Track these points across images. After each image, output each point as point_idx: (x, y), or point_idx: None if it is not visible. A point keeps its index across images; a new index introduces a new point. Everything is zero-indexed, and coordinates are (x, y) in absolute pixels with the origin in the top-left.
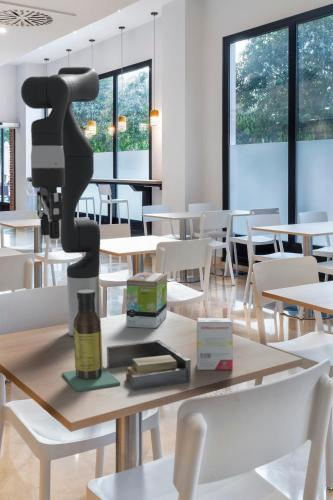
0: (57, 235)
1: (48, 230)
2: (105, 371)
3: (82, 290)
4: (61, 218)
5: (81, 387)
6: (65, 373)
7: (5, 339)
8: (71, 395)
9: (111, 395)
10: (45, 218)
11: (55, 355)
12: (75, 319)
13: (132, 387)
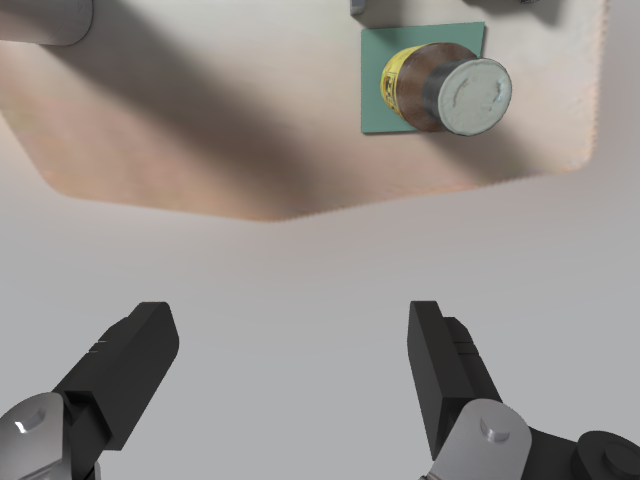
0: (457, 327)
1: (153, 330)
2: (399, 35)
3: (453, 109)
4: (631, 451)
5: None
6: (371, 127)
7: (88, 198)
8: (479, 140)
9: (527, 62)
10: (90, 433)
11: (228, 117)
12: (439, 130)
13: (528, 1)
